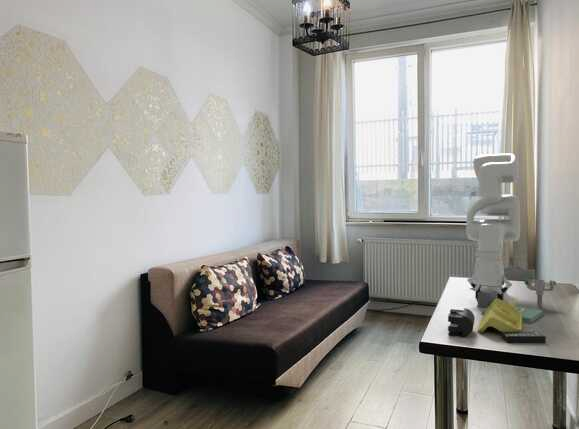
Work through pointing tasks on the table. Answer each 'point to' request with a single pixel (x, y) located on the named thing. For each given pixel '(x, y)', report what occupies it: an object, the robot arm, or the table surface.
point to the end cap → (460, 322)
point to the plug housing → (486, 297)
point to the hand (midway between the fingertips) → (489, 302)
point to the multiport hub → (523, 337)
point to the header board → (523, 312)
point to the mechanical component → (539, 288)
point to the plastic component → (501, 317)
